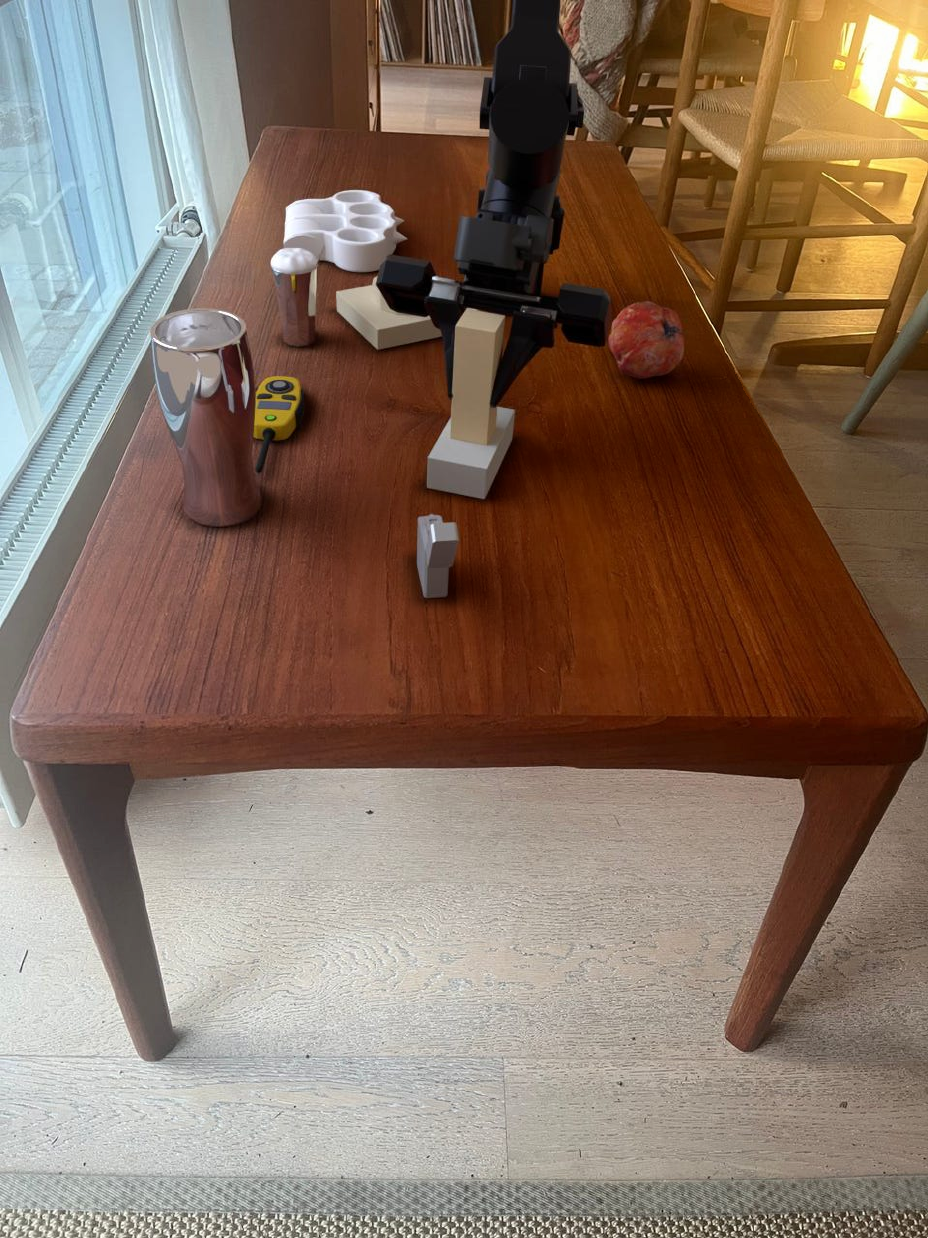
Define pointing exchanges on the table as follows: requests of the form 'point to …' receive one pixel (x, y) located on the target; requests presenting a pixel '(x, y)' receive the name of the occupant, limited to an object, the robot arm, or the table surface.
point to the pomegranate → (646, 340)
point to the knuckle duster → (344, 229)
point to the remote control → (277, 411)
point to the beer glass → (209, 410)
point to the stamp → (473, 412)
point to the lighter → (435, 554)
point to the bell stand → (382, 318)
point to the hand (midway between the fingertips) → (471, 402)
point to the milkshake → (296, 294)
